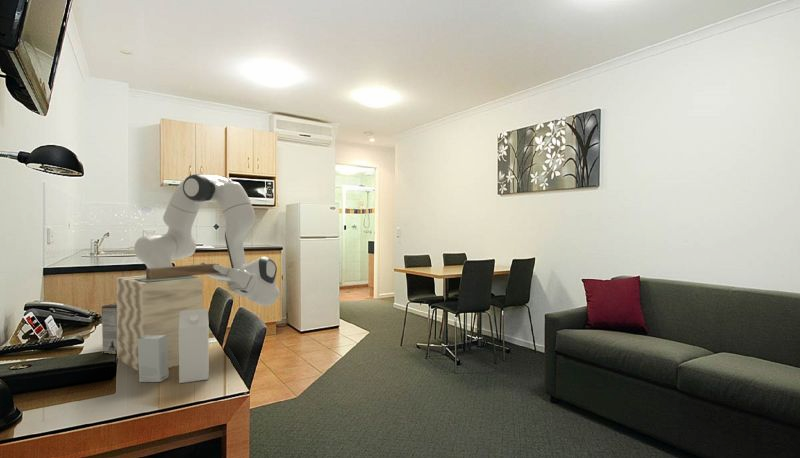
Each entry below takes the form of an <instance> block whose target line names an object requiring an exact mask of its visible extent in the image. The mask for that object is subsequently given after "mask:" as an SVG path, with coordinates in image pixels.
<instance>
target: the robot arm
mask: <svg viewBox="0 0 800 458" xmlns="http://www.w3.org/2000/svg"><path fill="white" fill-rule="evenodd" d="M203 203H210V204H211V203H218V205H219V206H220V209H221V211H222V214H223V217H224V221H225V232H224V241H225V245H226V248H227V249H226V250H227V254H228V258H229V262H230V267H225V266H221V265H220V264H219V263H213V264H214V265H213V267H212V269H214V270H216V271H219V273H214V274H204V275H205V276H207V277H208V278H211V279H213V280H215V281H218V282H221V283H225V284H226V286H227V287H228V290H229V292H231V293H233V294H235V295H238V296H240V297H242V298H247V299H248V300H249V301H251V302H253V303H255V304H257V305H260V306H264V307H269V306H271V305H273V304H275V302H276V301H277V300H278V299H279V297H280V295H281V292H280V289H279V287H278V285H277V278H276V277H277V274H278V273H277V272H278V267H277V264H276V263H275V261H274V260H273V259H271V258H270V257H267V256H261V257H259V258H257V259H254V260H252V261H251V262H249V263H248V262H247V257H246V255H245V254H246V253H245V250H244V241H245V238H246V236H247V234H249V233H248V232H250V230H251V229H252V228H253V226H254V225H255V221H256V213H255V212H256V211H255V210H254V207H253V205H252V202H251V199H250V197H249V196H248V193H247V192H246V190H245V188H244V187H243V186H242V185H241V183H240V182H237V181H233V180H232V179H230V178H228V177H226V176H221V175H216V174H200V173H195V174H191V175H188V176H187V177H186V178H185V179H184V180H183V181H181V182H180V183H178V185H177V186H176V189H175V190H174V192H173V193H172V194H171V197H170V200H169V202H168V204H167V206H166V208H165V212H164V214H163V217H162V221H163V222H164V224H165V225H166V226H167V227H168V230H167V232H166V233H165V234H164V233H160V234H159V233H158V234H149V235H145V236H141V237H139V238H138V239H137V240H136V241H135V243H134V247H133V250H134V254H135V256H136V257H137V258H138V260H140V261H141V262H143V264H144V265H145V266H146V269H148V268H161V267H174V265H173V262H172V261H174V260H175V261H177V260H182V259H187V258H188V257H191V256H193V255H194V254H195V252H196V249H197V244H196V243H197V242H196V240H195V239H194V238H193V235H192V230H193V229H192V228H193V225H194V223H195V221H196V218H197V214H198V212H199V209H200V207H201V205H202V204H203ZM201 264H206V263H205V262H200V263H199V265H201ZM218 264H219V265H218Z"/></svg>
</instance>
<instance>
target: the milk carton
mask: <svg viewBox="0 0 800 458" xmlns="http://www.w3.org/2000/svg"><path fill="white" fill-rule="evenodd" d="M209 320H210V319H209V309H208V308H204V309H200V310H186V311H180V318H179V365H178V383H179V384H185V383H190V382H197V381H198V382H199V381H206V380H209V375H210V373H209V372H210V353H209V352H210V346H209V345H210V343H209V342H210V341H209V339H210V338H209V330H210V329H209V328H210V327H209V324H210V323H209Z"/></svg>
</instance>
